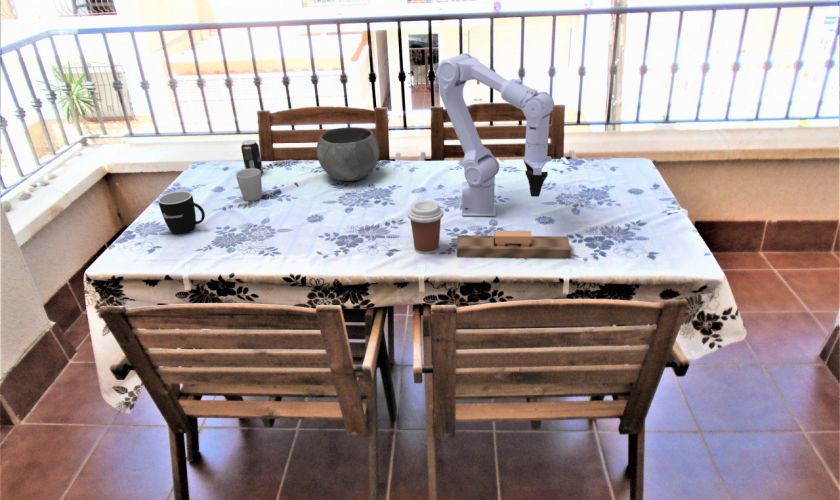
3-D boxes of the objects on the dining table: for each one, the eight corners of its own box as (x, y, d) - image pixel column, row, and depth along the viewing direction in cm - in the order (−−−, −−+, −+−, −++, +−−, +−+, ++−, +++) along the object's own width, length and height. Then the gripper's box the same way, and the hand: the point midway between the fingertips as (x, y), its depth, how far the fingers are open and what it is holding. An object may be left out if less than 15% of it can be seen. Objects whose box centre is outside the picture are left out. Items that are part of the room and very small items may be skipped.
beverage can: (258, 171, 210) (252, 138, 204) (266, 175, 206) (260, 141, 200) (243, 175, 207) (237, 142, 201) (251, 179, 203) (245, 145, 197)
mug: (160, 236, 167) (151, 203, 162) (176, 222, 175) (168, 190, 170) (200, 238, 166) (192, 204, 161) (215, 223, 173) (207, 191, 169)
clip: (494, 253, 151) (495, 236, 149) (494, 248, 154) (495, 230, 152) (530, 254, 150) (531, 236, 148) (530, 248, 153) (531, 231, 151)
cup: (236, 202, 186) (231, 177, 182) (248, 190, 195) (243, 165, 191) (260, 202, 185) (255, 177, 181) (270, 190, 194) (266, 165, 190)
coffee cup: (441, 257, 151) (440, 214, 145) (406, 255, 152) (403, 213, 146) (446, 240, 158) (445, 199, 153) (412, 239, 160) (410, 198, 154)
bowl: (307, 182, 199) (301, 138, 192) (347, 162, 214) (343, 121, 207) (353, 194, 189) (349, 148, 181) (393, 173, 203) (390, 130, 196)
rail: (456, 256, 151) (456, 248, 149) (457, 243, 157) (457, 235, 155) (570, 258, 148) (570, 249, 146) (566, 245, 154) (567, 236, 153)
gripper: (555, 151, 148) (551, 201, 154) (549, 132, 160) (546, 180, 167) (526, 151, 148) (523, 201, 155) (523, 133, 161) (521, 180, 167)
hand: (533, 190), depth 161 cm, fingers open, 7 cm apart
